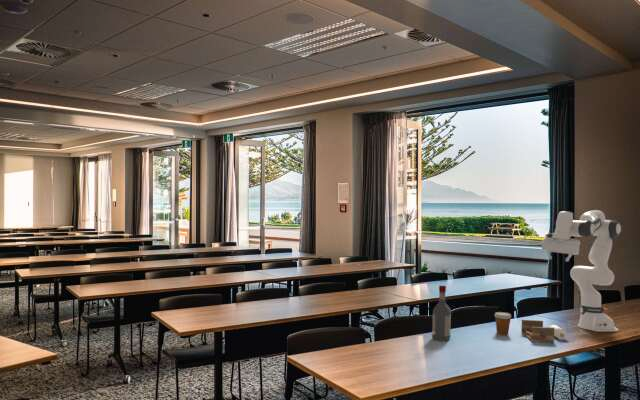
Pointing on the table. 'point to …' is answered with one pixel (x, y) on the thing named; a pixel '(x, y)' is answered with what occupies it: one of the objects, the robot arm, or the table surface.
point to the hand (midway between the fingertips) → (558, 260)
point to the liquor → (441, 318)
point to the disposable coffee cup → (502, 322)
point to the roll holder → (537, 331)
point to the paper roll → (559, 332)
